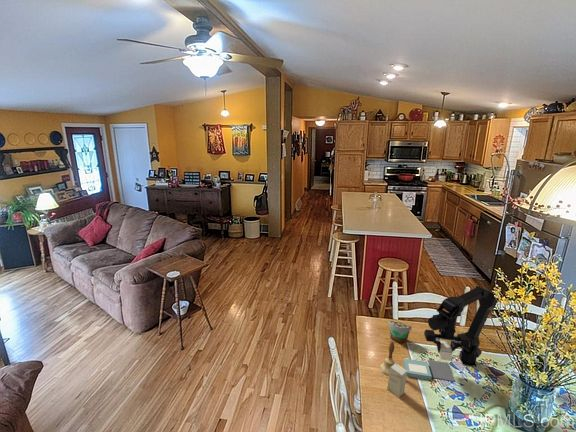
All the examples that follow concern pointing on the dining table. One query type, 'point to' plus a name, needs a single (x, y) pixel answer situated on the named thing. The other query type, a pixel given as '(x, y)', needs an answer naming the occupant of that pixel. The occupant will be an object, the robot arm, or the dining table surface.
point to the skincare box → (397, 379)
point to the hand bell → (388, 360)
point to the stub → (445, 351)
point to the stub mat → (441, 370)
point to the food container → (399, 331)
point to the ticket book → (417, 368)
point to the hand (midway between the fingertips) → (443, 352)
